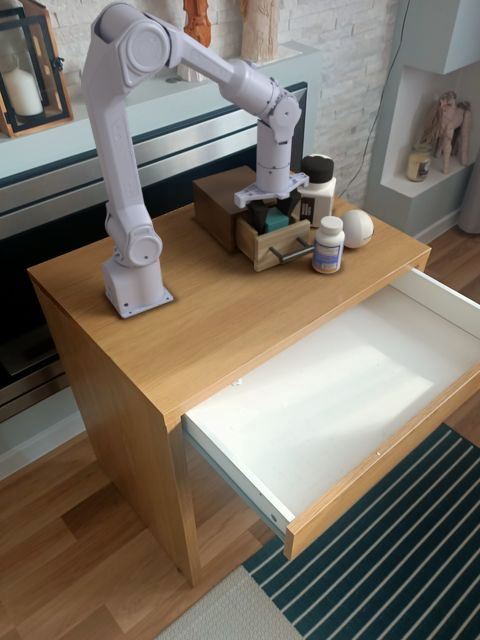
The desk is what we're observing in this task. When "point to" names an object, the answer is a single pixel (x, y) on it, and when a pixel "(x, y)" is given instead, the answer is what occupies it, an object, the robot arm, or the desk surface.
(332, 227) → the pill bottle
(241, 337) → the desk surface
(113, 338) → the desk surface
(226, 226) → the cabinet
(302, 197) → the container
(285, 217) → the block
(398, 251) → the desk surface
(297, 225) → the drawer
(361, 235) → the white ball
